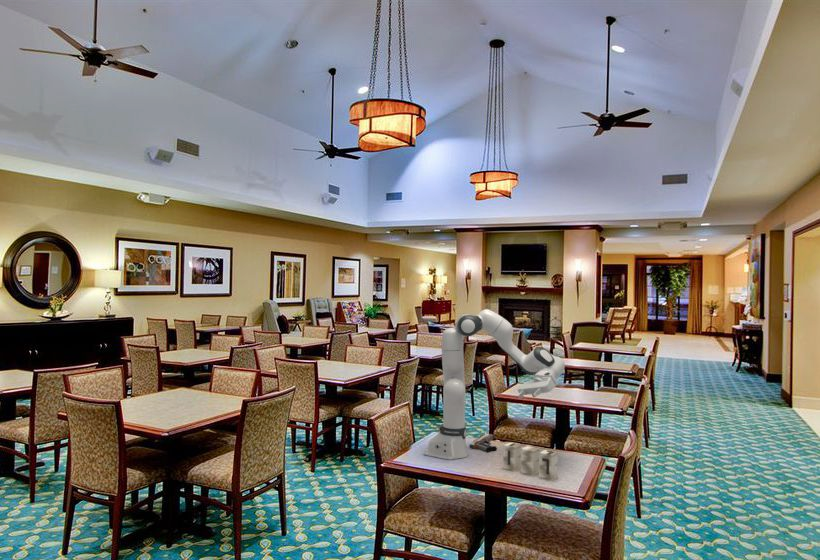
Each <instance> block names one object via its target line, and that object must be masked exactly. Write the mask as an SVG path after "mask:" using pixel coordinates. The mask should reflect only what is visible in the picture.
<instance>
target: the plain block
mask: <svg viewBox="0 0 820 560" xmlns="http://www.w3.org/2000/svg"><path fill="white" fill-rule="evenodd" d="M539 453H540V448H539V447H535V446H529V445H526V446H524V447H521V469H520V474H523V475H526V476H530V477H534V476H536V475H537V474H538V475H539Z"/></svg>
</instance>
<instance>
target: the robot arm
mask: <svg viewBox="0 0 820 560" xmlns="http://www.w3.org/2000/svg"><path fill="white" fill-rule="evenodd" d="M481 330H482V331H483V332H485V333H486V334H487V335H489V336H490V337H492V338H493V339H494V340H495V342H497V344H498V347H500V349H501V350H502V351H503V352H504V353H505V354H507V356H508V357H510V359H512V360H513V361H514V362H515V363H516V364H517V365H518V366H519V368H520V369H521V370H522V372H524V373H525V374H526V375H528V376H533V377H532V380H527V381H525V382H523V383H522V384H521V385H520V386H519V387H518V388H517V392H518V393H519V394H518V395H517V396H518V398H519V399H520V400H521V399H523V398H524V396H527V395H531V397H532V398H537V397H538V396H539V395H541V394H544V393H549V392H551V391H553V389H554V388H556V387H557V386H558V385H559V383H558V381H557V380H558V379H559V378H560V376H561V375H562V374H563V373H564V371H565V366H566V364H565V361H564V360H563V359H562V358H561V357H560V356H558V355H557V356H556V355H554V354H552V353H550V352H549V350H548V349H547V348H545V347H542V346H537V347H535V348H534V349H532V351H530V352H529V353H528V354H525V353H524V352H523V351H522V350H520V349H519V347H517V346H516V345H515V344H514V342H513V337H514V336H513V335H514V328H513V325H512V323H510V322H509V321H508V320H507V319H506V318H504V317H503V316H501V315H500V314H498V313H496V312H495V311H493V310H491V309H488V308H485V309H482V311H480V312H479V313H478V314H476V315H473V314H470V313H463V314H461V315H460V316H459V317H458V319H456V323H455V324H454V326H453V327H449V328H445V330H443V331H442V334H441V335H442V336H441V364H442V374H443V375H442V377H443V388H442V389H443V391H442V392H443V394H442V395H443V397H442V402H443V403H442V405H443V407H442V410H443V412H442V413H443V414H442V420H443V421H442V422H443V423H442V424H441V425H440V426H439V428H438V431H439V432H438V433H437V434H436V435H435V436H433V437H432V438H431V439H430V440H429V441H428V444H427V445H428V446H427V447H426V448H424V450H423V455H425V456H429V457H433V458H438V459H444V460H449V461H450V460H451V461H452V460H455V459H462V458H463V459H464V458H467V457H468V455H469V452H468V449H467V442H466V438H467V427H466V379H465V378H466V377H465V359H464V357H465V356H464V354H465V353H464V338H466V337H472V336H475V334H477V333H479V331H481Z"/></svg>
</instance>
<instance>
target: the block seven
mask: <svg viewBox="0 0 820 560" xmlns="http://www.w3.org/2000/svg"><path fill="white" fill-rule="evenodd" d="M558 459H559V453H558V452H557V451H553V450H548V449H544V450H542V451H539V473H538V475H539V477H538V478H540V479H543V480H546V481H551V482H553V481H555V480H556V479H557V478H558V475H559V472H558V471H559V470H558V469H559V465H558V463H559V462H558V461H559V460H558Z"/></svg>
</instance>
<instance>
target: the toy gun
mask: <svg viewBox="0 0 820 560" xmlns="http://www.w3.org/2000/svg"><path fill="white" fill-rule="evenodd" d="M492 440H494V434H492V433H489V434H488V433H484V434H482V435H480V436H478V437H477V438H476V439H475V440H473V441H472V442H471V443H470V444H469V449H472V450H473V451H475V450H479V451H483V452H486V453H487V454H488V453H492V452H496V451H498V450H497V449H498V448H497V446H496V445H494V446H493V445H491V444H492V443H491V441H492Z"/></svg>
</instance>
